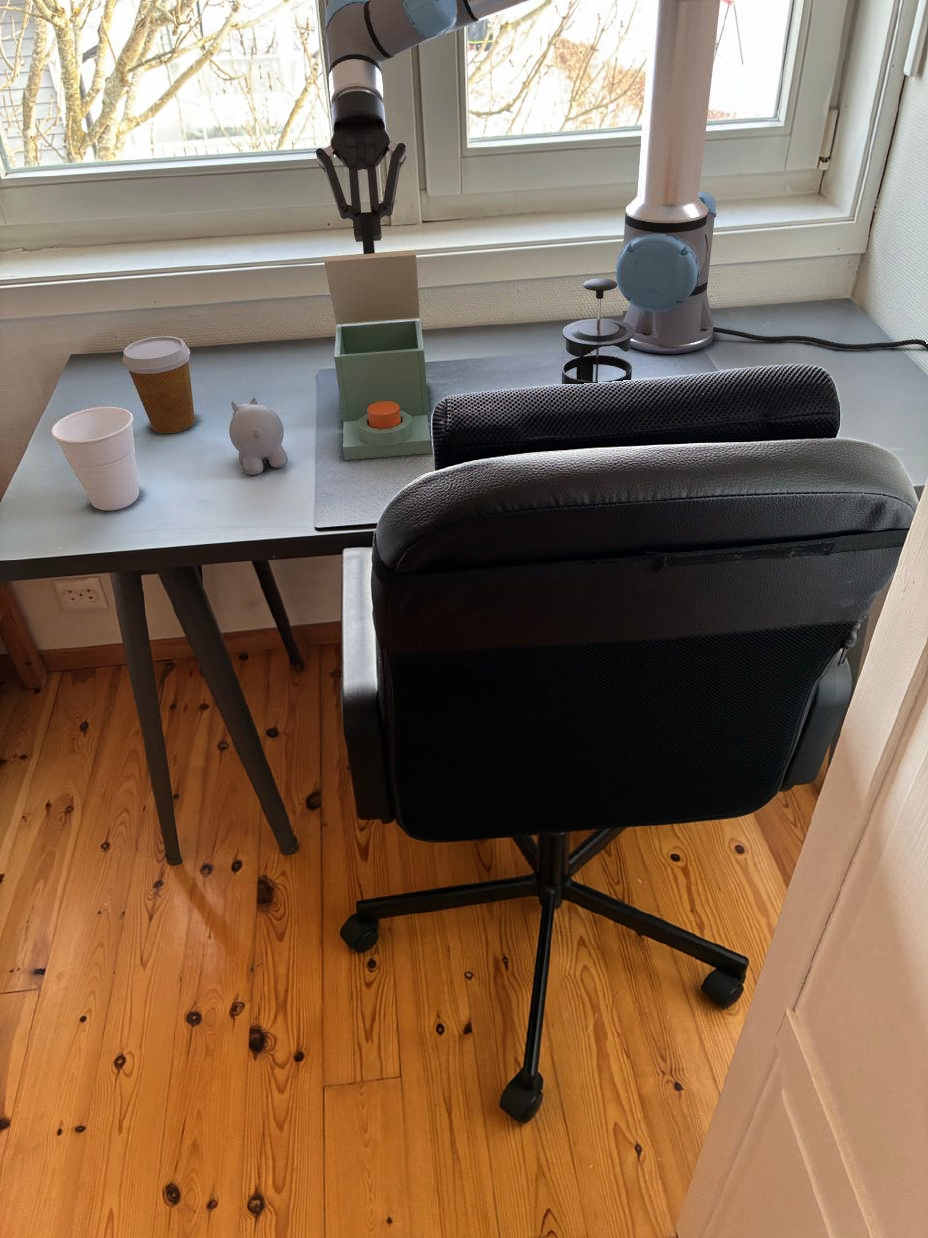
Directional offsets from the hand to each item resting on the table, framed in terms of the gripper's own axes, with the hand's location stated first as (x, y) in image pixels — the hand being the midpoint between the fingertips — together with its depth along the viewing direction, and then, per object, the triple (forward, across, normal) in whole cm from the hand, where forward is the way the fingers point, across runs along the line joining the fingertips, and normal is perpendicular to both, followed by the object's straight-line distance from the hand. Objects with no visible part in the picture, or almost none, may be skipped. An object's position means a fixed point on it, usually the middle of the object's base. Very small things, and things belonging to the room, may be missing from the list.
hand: (369, 260), depth 131 cm
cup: (+32, +36, +2) cm, 48 cm away
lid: (+2, 0, -4) cm, 5 cm away
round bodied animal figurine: (+26, +18, -5) cm, 31 cm away
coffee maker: (+16, 0, -14) cm, 21 cm away
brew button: (+23, 0, -2) cm, 23 cm away
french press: (+30, -28, -1) cm, 41 cm away
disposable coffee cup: (+16, +32, -14) cm, 38 cm away
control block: (+25, 0, -6) cm, 25 cm away
